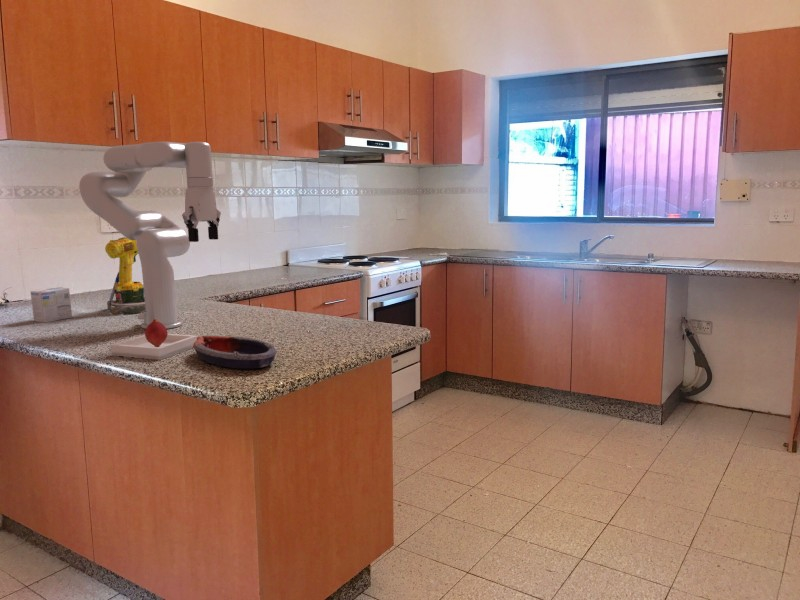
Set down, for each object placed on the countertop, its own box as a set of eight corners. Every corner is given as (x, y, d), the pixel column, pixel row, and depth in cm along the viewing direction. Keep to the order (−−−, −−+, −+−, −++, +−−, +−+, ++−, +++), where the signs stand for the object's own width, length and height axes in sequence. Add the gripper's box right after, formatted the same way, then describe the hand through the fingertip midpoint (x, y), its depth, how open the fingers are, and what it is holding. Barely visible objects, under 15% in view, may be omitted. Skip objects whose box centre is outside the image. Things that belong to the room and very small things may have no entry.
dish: (238, 378, 152) (237, 357, 151) (177, 356, 173) (176, 338, 173) (293, 365, 162) (292, 345, 162) (230, 346, 184) (229, 329, 183)
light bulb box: (62, 316, 236) (59, 286, 234) (73, 317, 232) (70, 287, 231) (32, 321, 227) (29, 290, 225) (43, 323, 223) (40, 291, 222)
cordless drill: (166, 310, 243) (160, 236, 238) (110, 316, 234) (103, 238, 229) (157, 304, 259) (152, 234, 254) (105, 308, 250) (98, 236, 245)
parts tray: (111, 355, 175) (110, 344, 174) (152, 342, 189) (151, 332, 189) (160, 359, 169) (159, 348, 169) (198, 346, 184) (198, 335, 183)
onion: (142, 347, 180) (139, 318, 178) (162, 343, 184) (160, 315, 182) (151, 350, 176) (149, 321, 174) (172, 346, 180) (169, 318, 178)
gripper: (207, 184, 207) (210, 238, 210) (170, 184, 191) (175, 242, 194) (227, 183, 204) (230, 238, 207) (192, 183, 188) (196, 242, 191)
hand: (203, 240), depth 200 cm, fingers open, 9 cm apart
